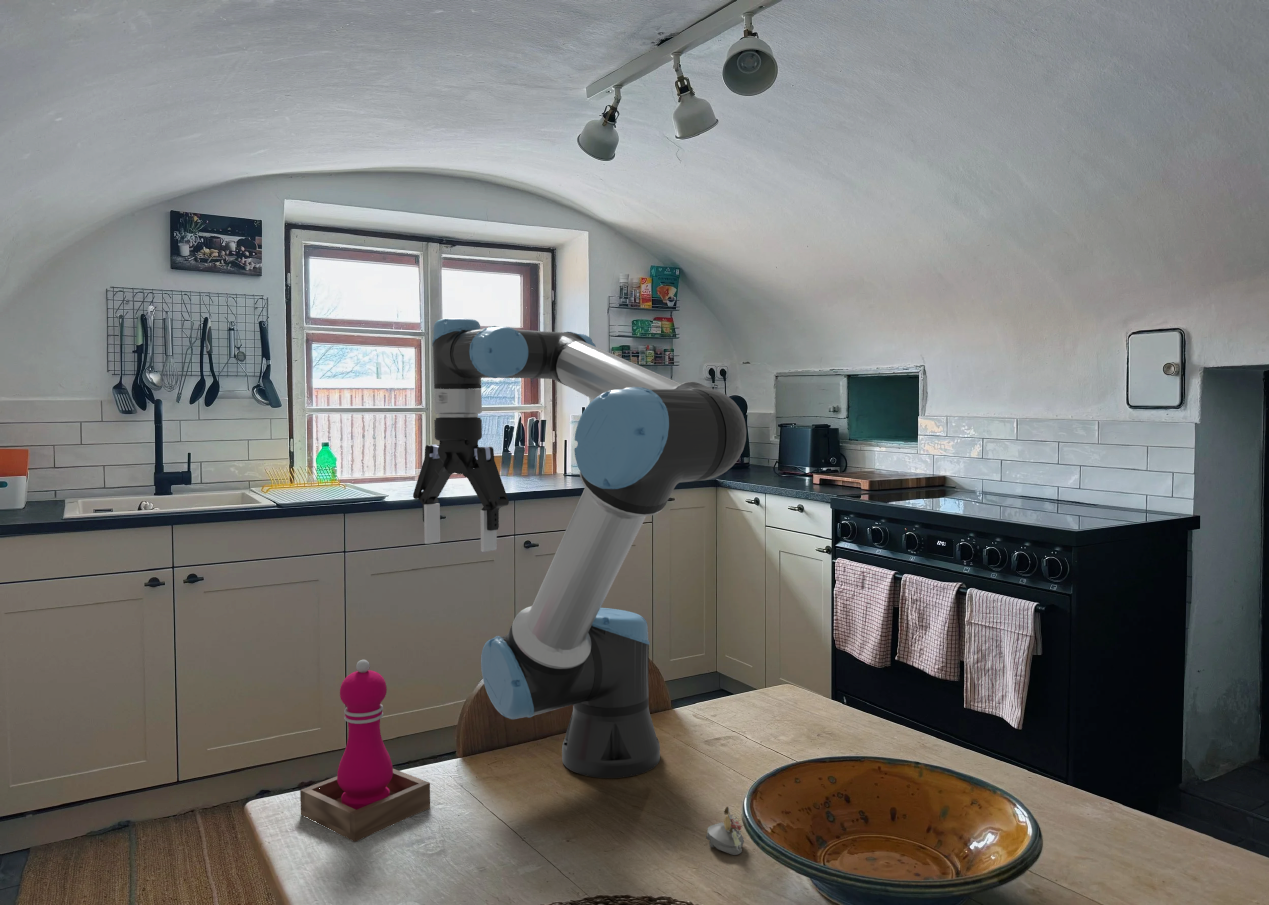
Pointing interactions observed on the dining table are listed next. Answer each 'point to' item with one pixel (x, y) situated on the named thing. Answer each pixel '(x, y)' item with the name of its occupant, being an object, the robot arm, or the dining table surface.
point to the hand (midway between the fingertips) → (459, 546)
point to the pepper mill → (364, 739)
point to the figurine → (726, 835)
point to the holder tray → (363, 822)
